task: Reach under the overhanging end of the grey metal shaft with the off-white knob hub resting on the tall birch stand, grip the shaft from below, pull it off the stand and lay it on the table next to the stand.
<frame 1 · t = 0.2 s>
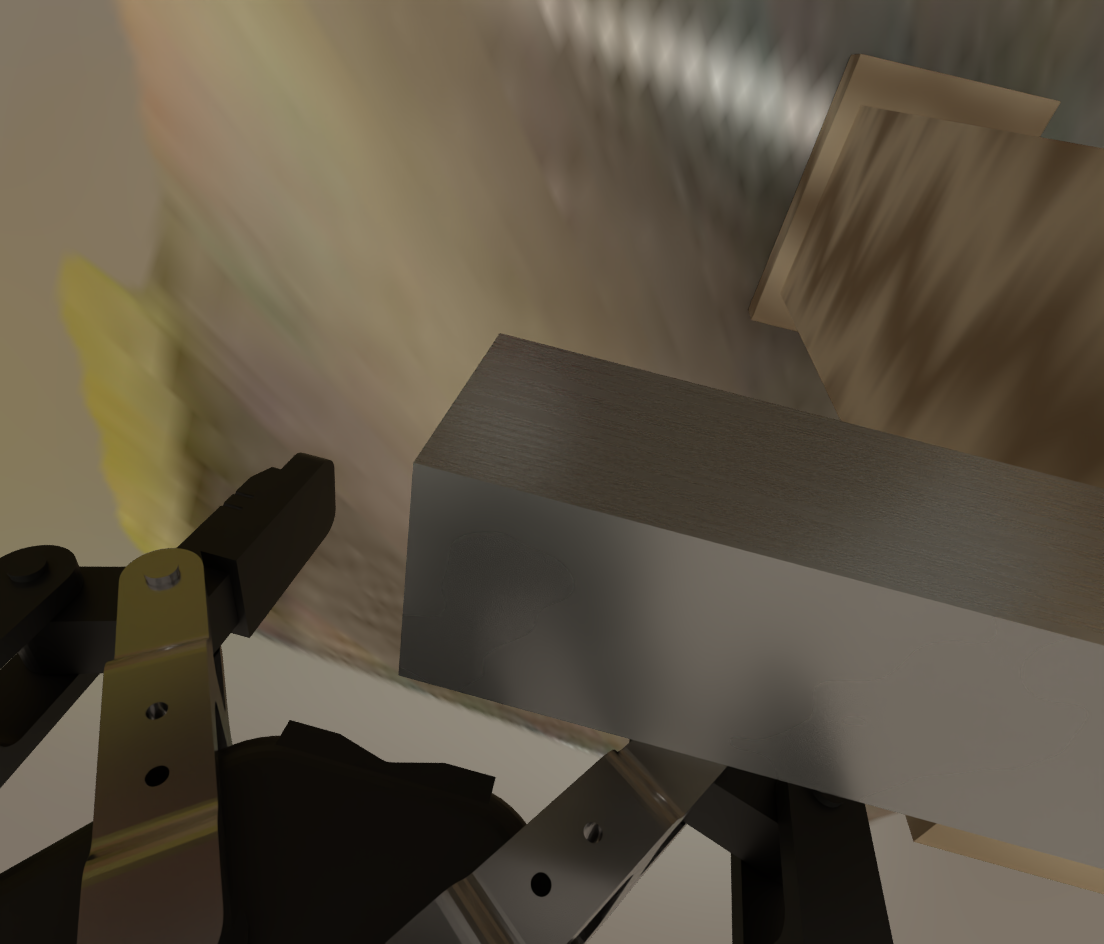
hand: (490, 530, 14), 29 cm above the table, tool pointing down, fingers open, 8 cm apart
stand: (876, 217, 35), on the table
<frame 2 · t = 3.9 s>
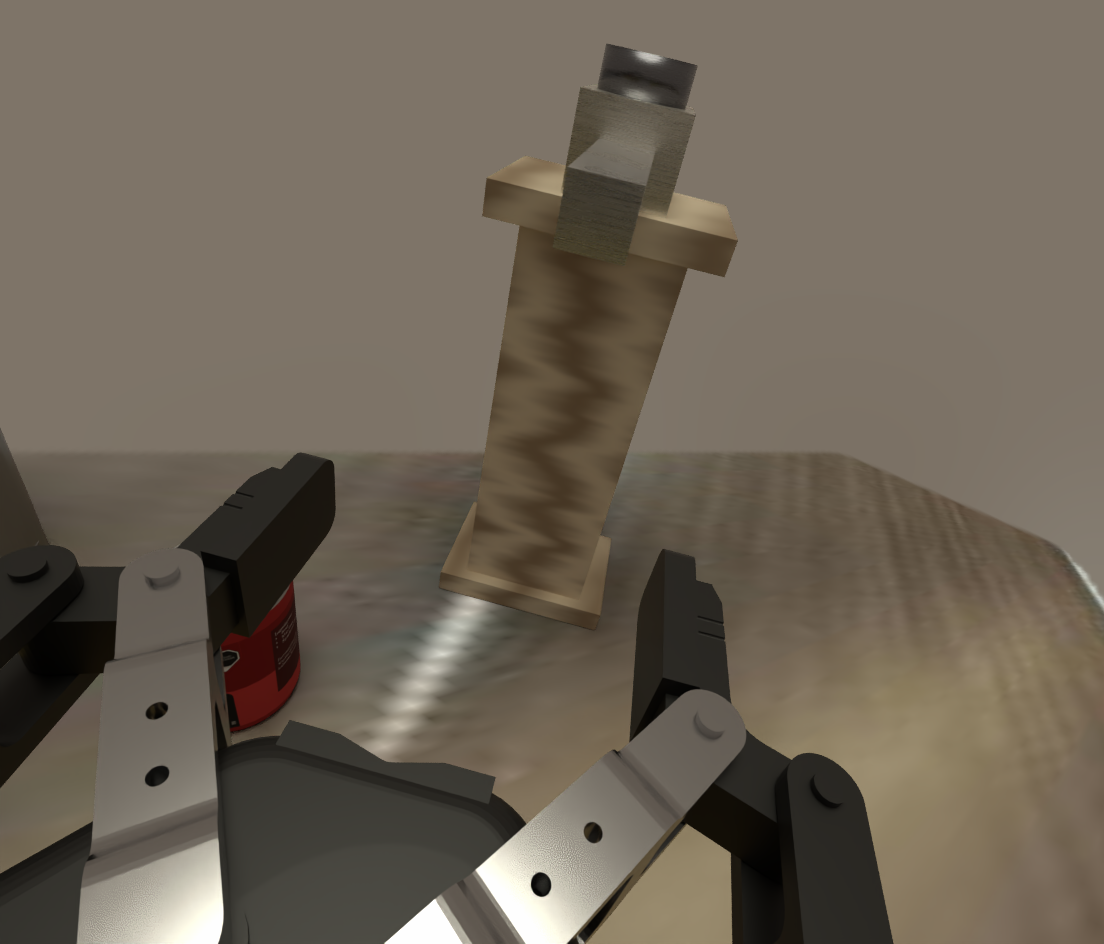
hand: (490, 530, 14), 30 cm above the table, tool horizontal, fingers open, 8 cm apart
canned food: (239, 685, 41), on the table
stand: (528, 569, 55), on the table
knob shaft: (609, 212, 31), point 33 cm above the table, touching stand
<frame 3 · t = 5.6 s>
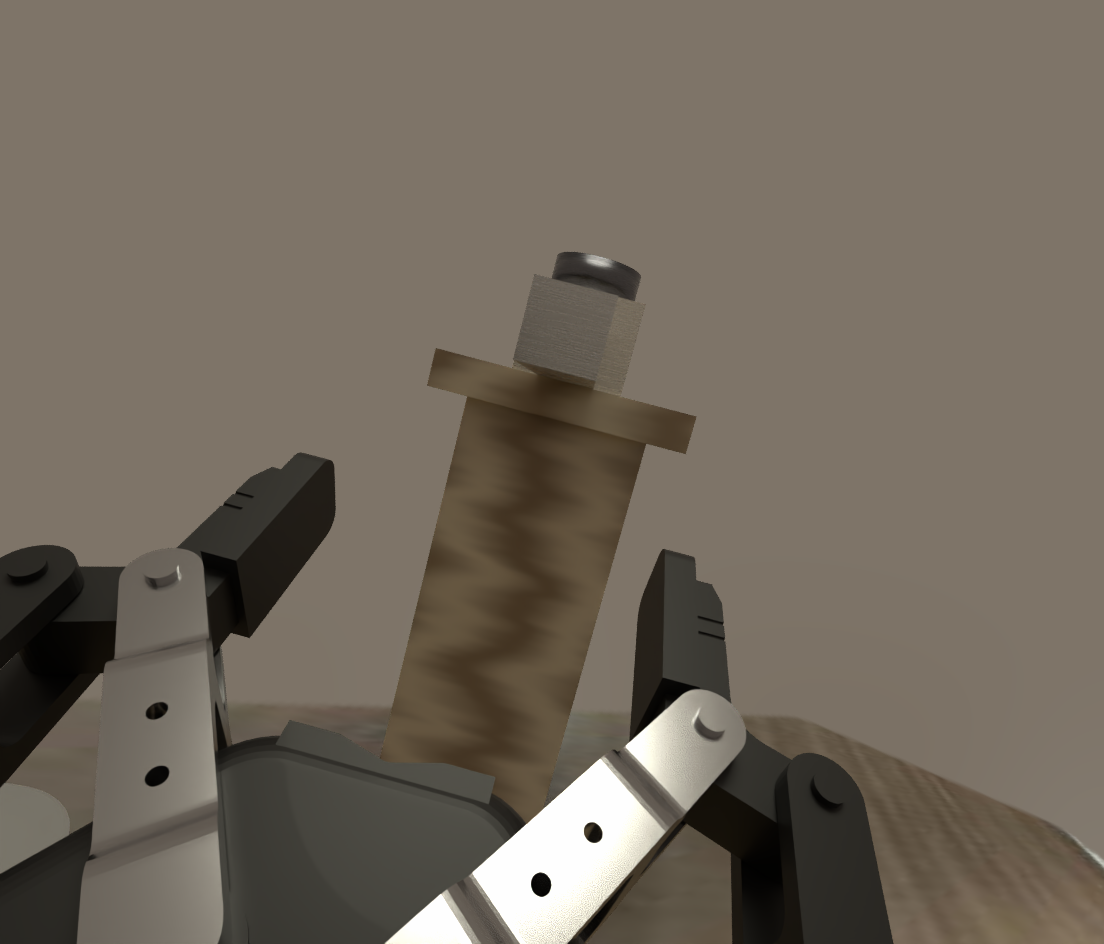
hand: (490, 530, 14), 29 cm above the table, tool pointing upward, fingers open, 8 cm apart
stand: (442, 866, 40), on the table
knob shaft: (564, 381, 30), point 33 cm above the table, touching stand
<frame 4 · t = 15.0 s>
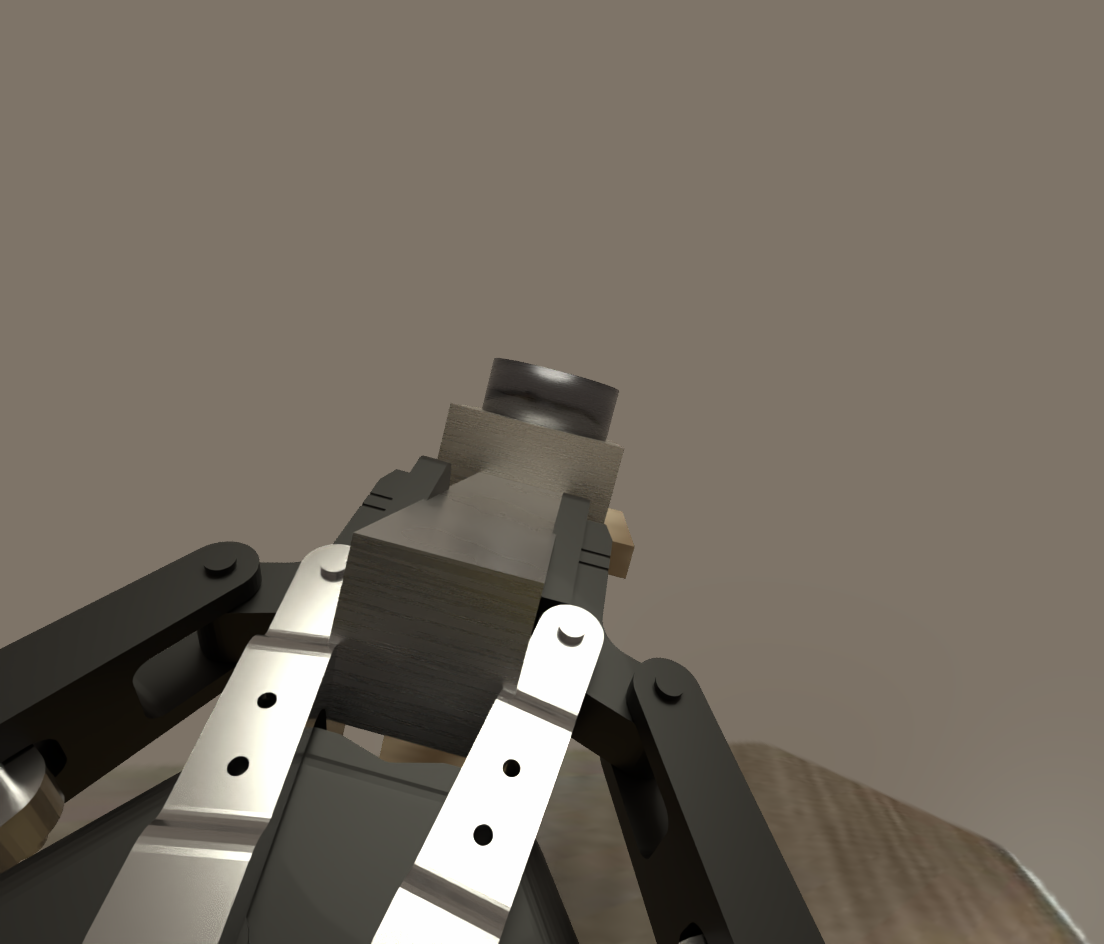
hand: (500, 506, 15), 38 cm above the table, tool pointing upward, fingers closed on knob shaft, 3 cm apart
stand: (421, 922, 44), on the table
knob shaft: (492, 583, 18), point 35 cm above the table, touching gripper
when the fingers open (10 cm above the table, at t = 19.8 s): knob shaft drops 6 cm, on the table.
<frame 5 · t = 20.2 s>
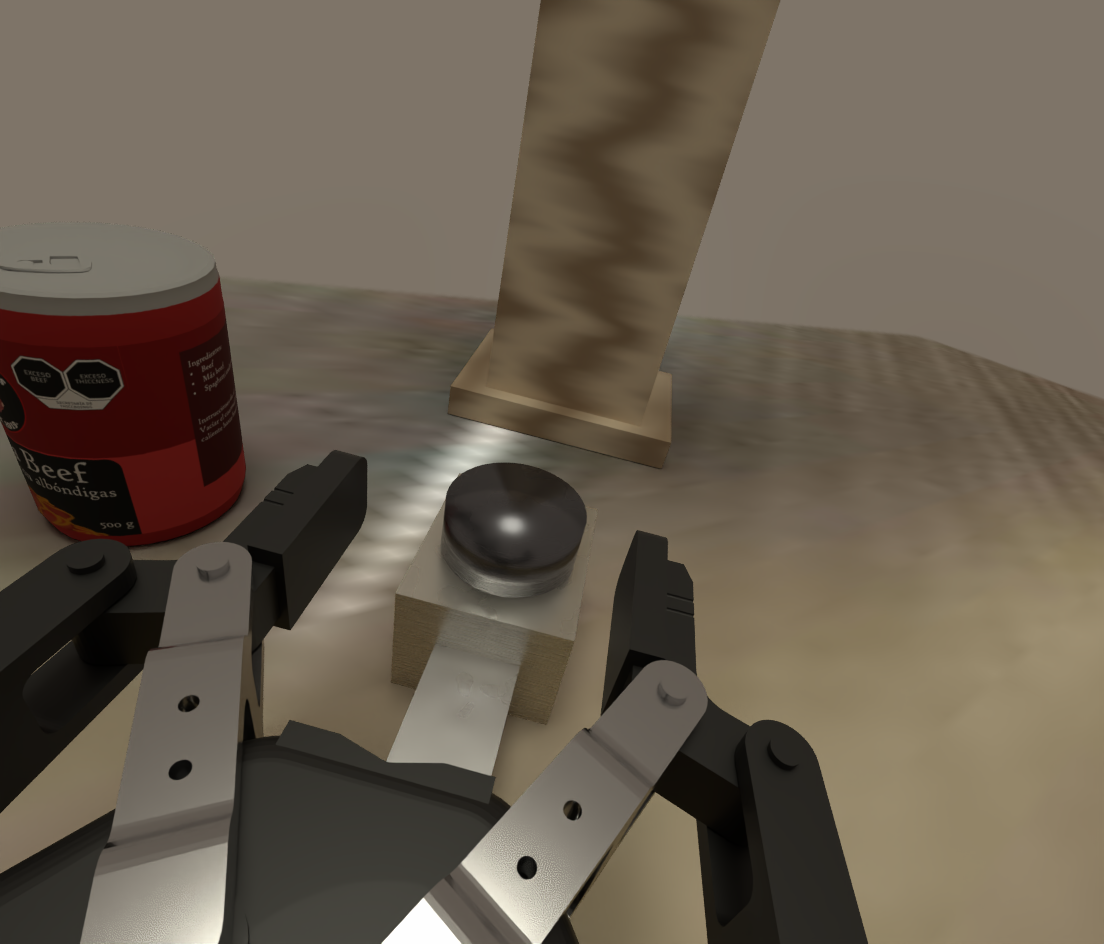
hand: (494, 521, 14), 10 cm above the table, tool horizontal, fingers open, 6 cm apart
canned food: (152, 496, 27), on the table
stand: (565, 404, 41), on the table
knob shaft: (451, 755, 20), on the table
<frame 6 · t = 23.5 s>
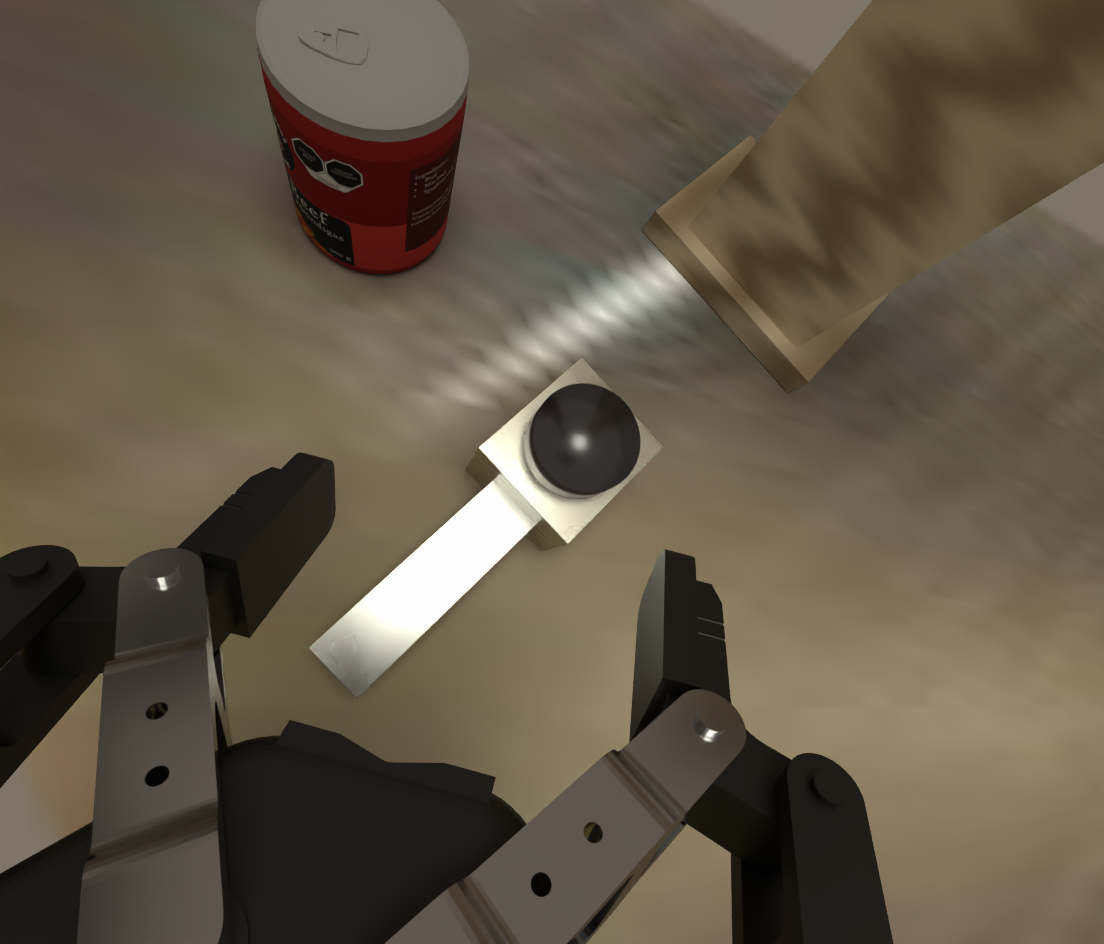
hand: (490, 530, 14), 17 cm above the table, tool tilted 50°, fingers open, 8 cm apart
canned food: (373, 218, 33), on the table
stand: (759, 270, 39), on the table
knob shaft: (476, 536, 31), on the table
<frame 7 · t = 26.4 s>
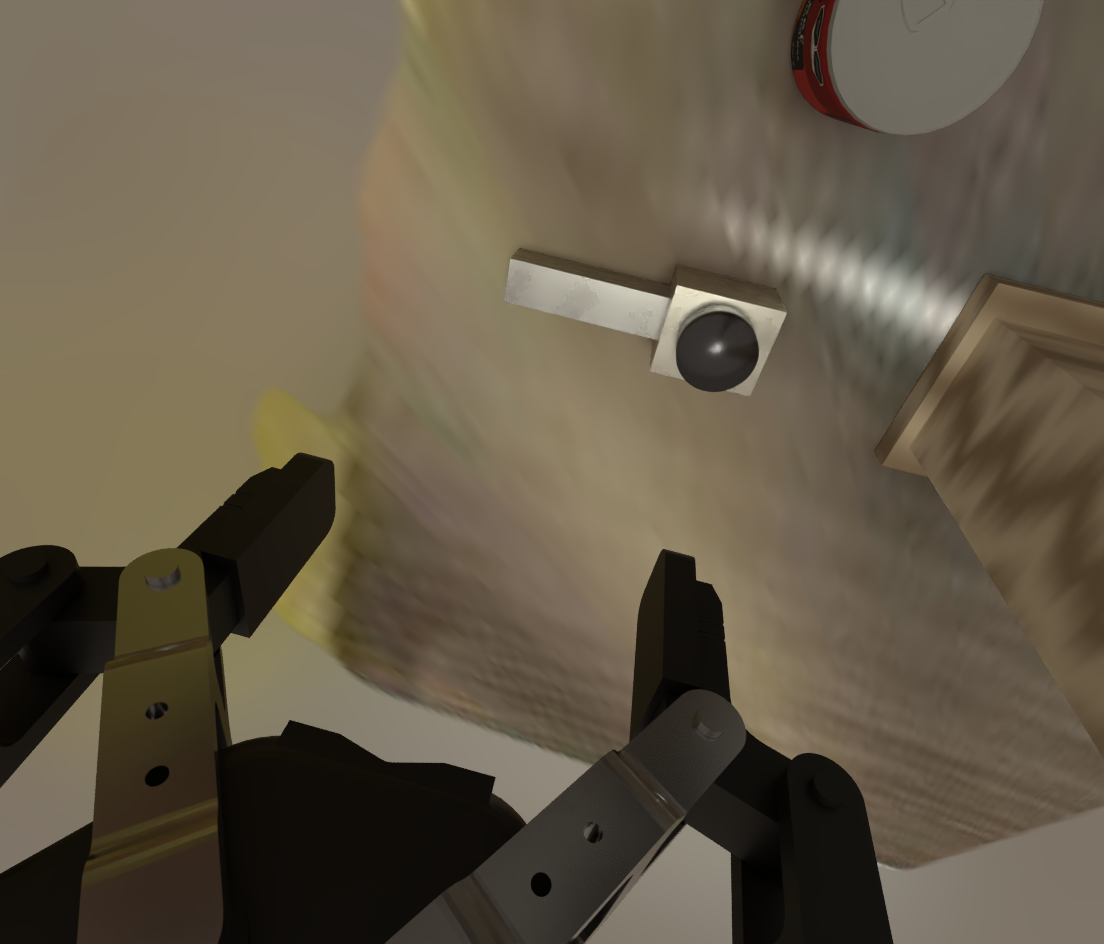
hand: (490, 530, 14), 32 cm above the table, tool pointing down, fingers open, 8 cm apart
canned food: (861, 37, 33), on the table
stand: (993, 388, 42), on the table
knob shaft: (637, 298, 43), on the table
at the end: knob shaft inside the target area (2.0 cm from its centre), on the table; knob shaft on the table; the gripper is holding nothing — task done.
